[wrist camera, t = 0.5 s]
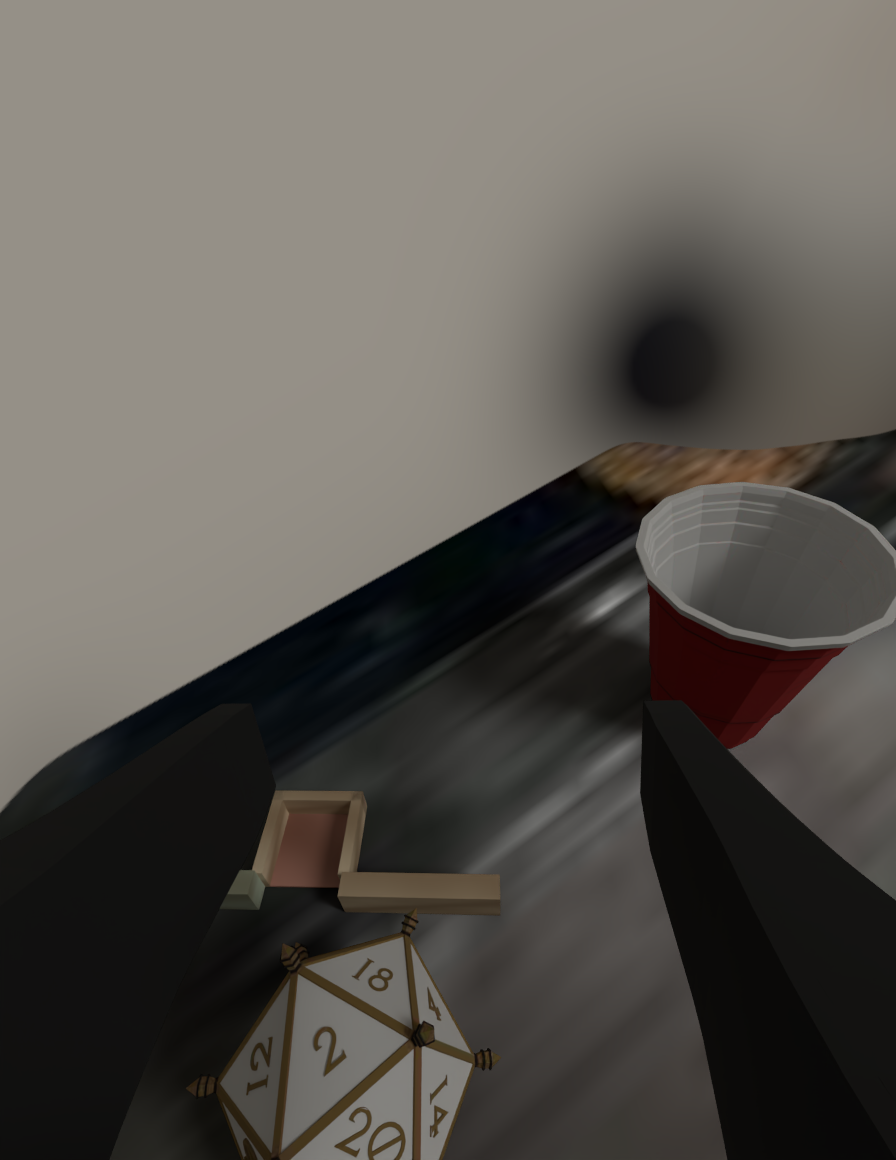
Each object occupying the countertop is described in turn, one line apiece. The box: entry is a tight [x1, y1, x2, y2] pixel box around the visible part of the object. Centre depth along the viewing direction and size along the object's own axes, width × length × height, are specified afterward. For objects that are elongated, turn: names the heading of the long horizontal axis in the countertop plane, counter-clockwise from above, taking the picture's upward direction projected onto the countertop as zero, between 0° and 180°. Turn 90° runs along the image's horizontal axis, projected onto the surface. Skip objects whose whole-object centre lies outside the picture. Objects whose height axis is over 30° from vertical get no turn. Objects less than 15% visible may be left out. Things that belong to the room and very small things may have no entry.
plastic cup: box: [636, 482, 896, 749], centre depth 28 cm, size 11×11×12 cm
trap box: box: [220, 791, 500, 915], centre depth 20 cm, size 22×22×3 cm
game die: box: [186, 907, 501, 1160], centre depth 18 cm, size 9×8×10 cm
